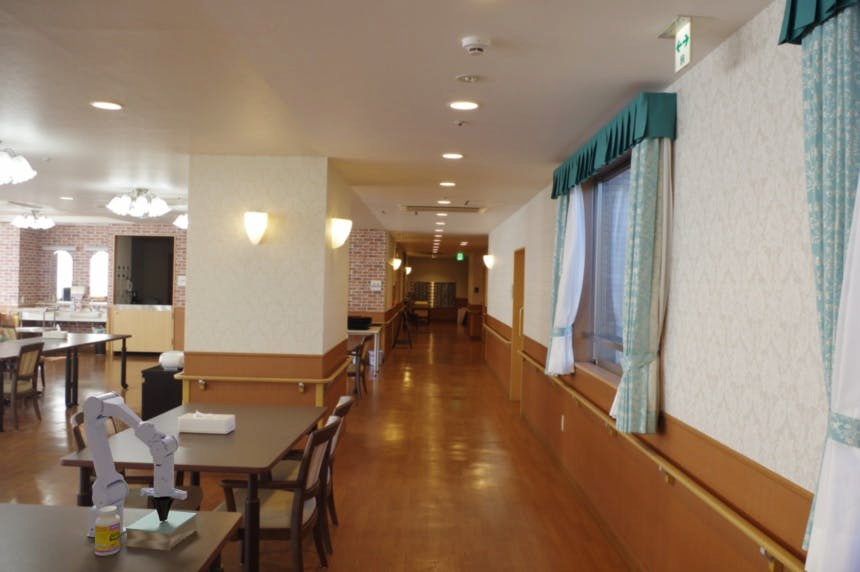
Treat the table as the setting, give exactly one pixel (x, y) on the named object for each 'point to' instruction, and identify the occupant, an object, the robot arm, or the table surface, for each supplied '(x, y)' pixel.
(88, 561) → the table surface
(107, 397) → the robot arm
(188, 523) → the box
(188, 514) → the lid
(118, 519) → the supplement bottle
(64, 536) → the table surface
